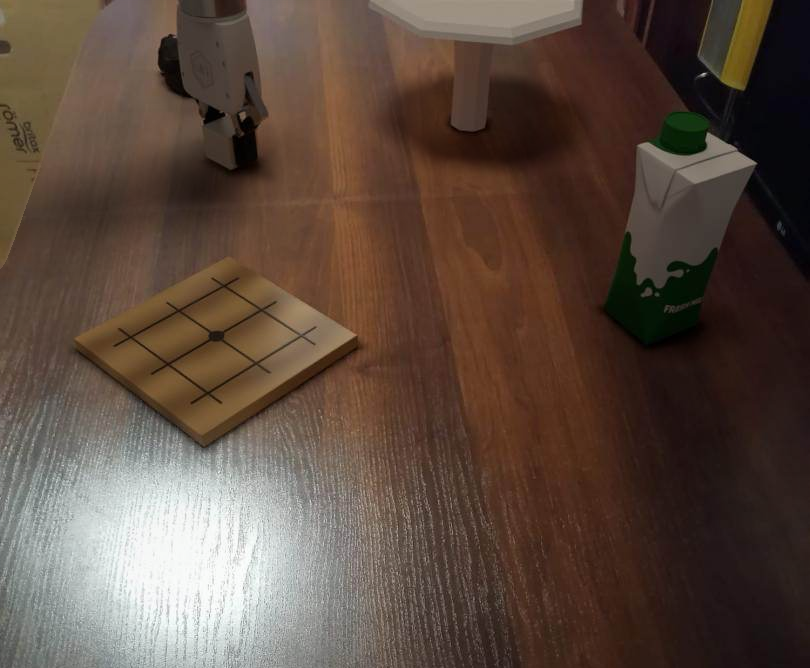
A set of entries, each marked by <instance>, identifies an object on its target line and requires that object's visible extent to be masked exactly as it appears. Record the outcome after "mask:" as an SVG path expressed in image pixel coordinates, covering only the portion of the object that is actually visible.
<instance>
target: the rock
mask: <svg viewBox="0 0 810 668" xmlns="http://www.w3.org/2000/svg"><path fill="white" fill-rule="evenodd" d="M157 55H158V56H157V66H158V69H159V71H161V72H162V73H163V74H162V75H163V77H164V80H165V82H166V84H167V85H168V86H169V87H171V88H172V89H174V90H175V91H176V92H177V93H179V94H181V95H183V96H188V95H189V94H188V93H187V92H186V90H185V89H184V86H183V82H182V76H181V69H180V61H179V53H178V42H177V34H174V33H169V34H167V36H164V37H162V38H161V39H160V44H159V47H158V51H157Z"/></svg>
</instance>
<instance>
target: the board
mask: <svg viewBox="0 0 810 668" xmlns="http://www.w3.org/2000/svg"><path fill="white" fill-rule="evenodd" d="M73 340H74V344H75V346H76V349H77V351H78V352H79V353H81V354H82V355H84V357H86V358H88V359H89V360H90V361H91V362H93V363H94V364H95V365H97V366H98V367H99V368H101V369H102V370H103V371H104V372H105V373H107V374H108V375H109V376H111V377H112V378H114V379H115V380H116V381H117V382H119V383H120V384H121V385H122V386H124V387H125V388H127V389H128V390H129V391H130V392H131V393H133V394H134V395H136V396H137V397H138V398H140V399H141V400H142V401H144V403H146V404H147V405H149V406H150V407H151V408H152V409H154V410H155V411H156V412H158V413H159V414H160V415H161V416H163V417H164V418H165V419H166V420H168V421H170V422H171V423H172V424H174V425H175V426H176V427H177V428H179V429H180V430H181V431H182V432H184V433H185V434H186V435H188V436H189V437H190V438H192V439H193V440H194V441H195V442H196V443H198V444H199V445H200V446H202V447H203V448H204V447H207V446H208V445H210V444H211V443H213V442H215V441H216V440H218V439H219V438H220V437H223V435H225V434H226V433H228V432H230V431H231V430H232V429H234V428H236V427H238V426H239V425H241V424H242V423H243V422H245V421H246V420H248V419H250V418H251V417H252V416H254V415H256V414H257V413H259V412H260V411H262V410H263V409H265V408H266V407H268V406H270V405H271V404H273V403H275V401H277V400H279V399H280V398H282V397H283V396H285V395H286V394H288V393H290V392H291V391H293V390H294V389H296V388H297V387H298V386H300V385H302V384H303V383H305V382H306V381H308V380H309V379H311V378H312V377H314V376H315V375H316V374H318V373H320V372H322V371H323V370H324V369H326V368H327V367H329V366H330V365H332V364H333V363H335V362H337V361H338V360H340V359H342V358H343V357H344V356H346V355H347V354H349V353H351V352H352V351H354V350H355V349H356V348H358V346H359V345H358V344H359V343H358V342H359V341H358V340H359V339H358V335H357V334H356V333H355V332H353V331H352V330H350V329H349V328H347V327H345V326H343V325H342V324H340V323H338V322H336V320H333V318H331V317H329V316H327V315H326V314H324V313H322V312H321V311H319V310H317V309H316V308H314V307H313V306H311V305H309V304H308V303H306V302H304V301H303V300H301V299H299V298H297V297H296V296H295V295H293V294H291V293H289V292H288V291H287V290H285V289H283V288H281V287H280V286H278V285H277V284H275V283H273V282H272V281H270V280H269V279H267V278H265V277H264V276H262V275H260V274H258V273H257V272H256V271H253V270H252V269H250V268H249V267H248V266H246V265H244V264H242V263H241V262H240V261H238V260H236V259H234V258H232V257H231V256H229V255H228V256H226V257H225V258H222V259H220V260H219V261H217V262H215V263H213V264H211V265H209V266H208V267H205V268H204V269H202V270H200V271H198V272H196V273H194V274H192V275H191V276H188V277H186V278H185V279H183V280H180V281H179V282H177V283H176V284H175V283H174V284H173V285H172V286H170V287H167V288H166V289H164V290H162V291H160V292H158V293H156V294H155V295H152V296H151V297H149V298H147V299H145V300H143V301H141V302H140V303H137V304H136V305H133V306H132V307H130V308H128V309H126V310H124V311H122V312H121V313H119V314H116V315H115V316H112V317H111V318H110V319H108V320H106V321H103V322H102V323H100V324H98V325H96V326H94V327H92V328H91V329H89V330H87V331H85V332H83V333H81V334H79V335H77V336H76V337H74V338H73Z"/></svg>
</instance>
